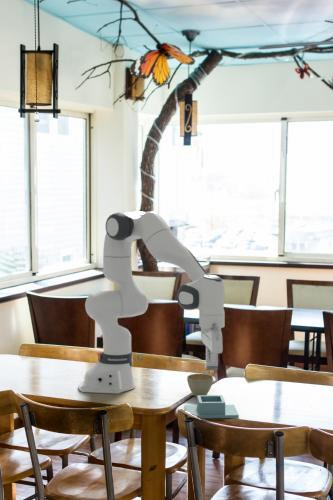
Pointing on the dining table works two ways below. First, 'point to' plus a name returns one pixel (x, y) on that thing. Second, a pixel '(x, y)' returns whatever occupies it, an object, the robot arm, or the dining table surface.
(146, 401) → the dining table surface
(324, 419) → the dining table surface
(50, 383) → the dining table surface
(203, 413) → the well
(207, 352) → the gray rectangular block
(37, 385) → the dining table surface
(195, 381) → the flower pot
